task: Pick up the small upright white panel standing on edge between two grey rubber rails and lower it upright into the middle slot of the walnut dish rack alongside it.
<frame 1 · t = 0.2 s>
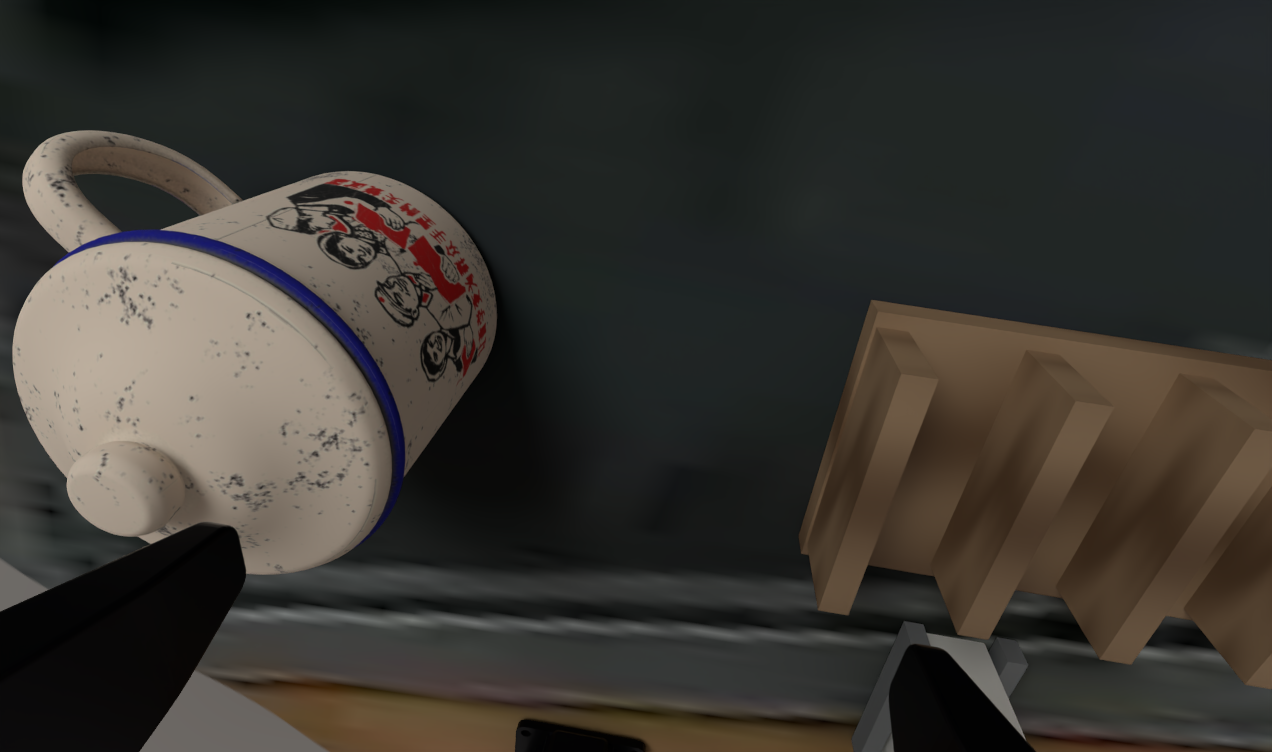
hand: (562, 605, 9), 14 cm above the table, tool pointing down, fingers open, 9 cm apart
rack: (1044, 464, 23), on the table
rails: (928, 693, 29), on the table
upright white panel: (927, 691, 29), on the table
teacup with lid: (352, 261, 23), on the table
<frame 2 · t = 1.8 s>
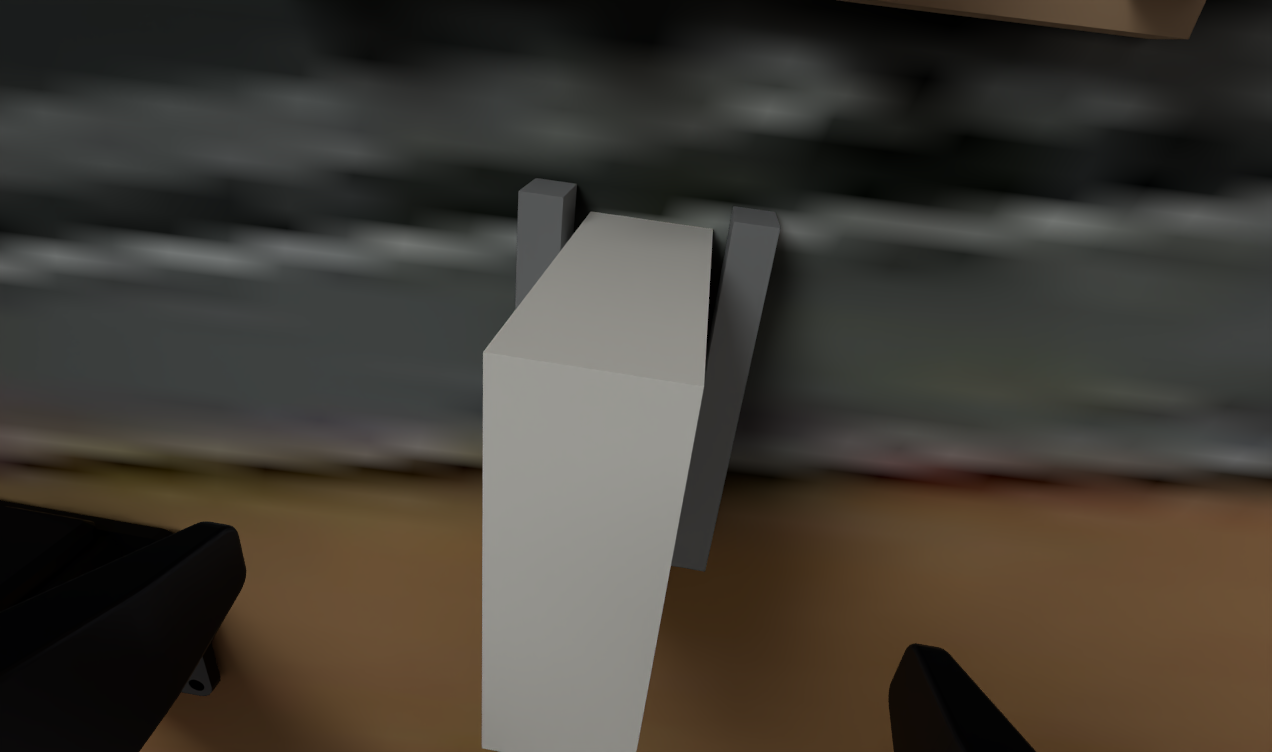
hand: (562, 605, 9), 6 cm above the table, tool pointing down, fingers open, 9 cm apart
rails: (631, 379, 14), on the table
upright white panel: (632, 377, 14), on the table
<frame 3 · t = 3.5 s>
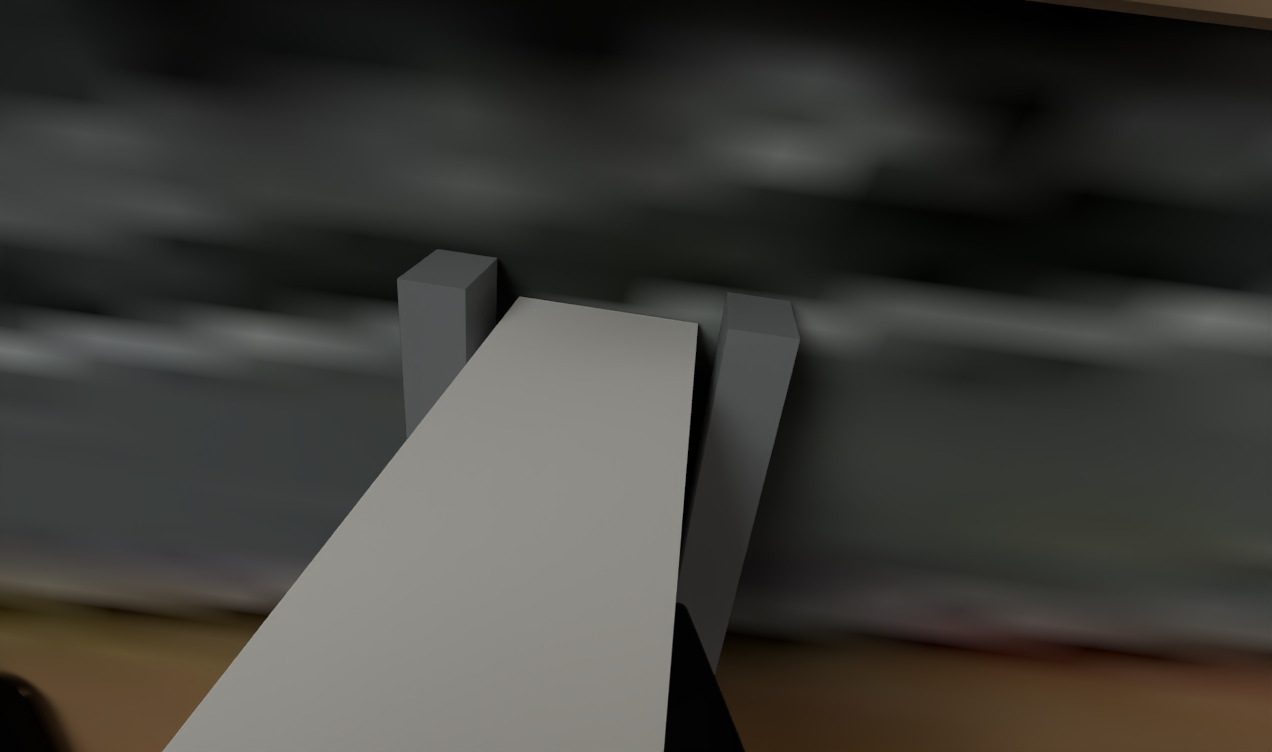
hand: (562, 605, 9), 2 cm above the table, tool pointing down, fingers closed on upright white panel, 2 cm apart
rails: (587, 516, 10), on the table
upright white panel: (587, 515, 10), on the table, touching gripper
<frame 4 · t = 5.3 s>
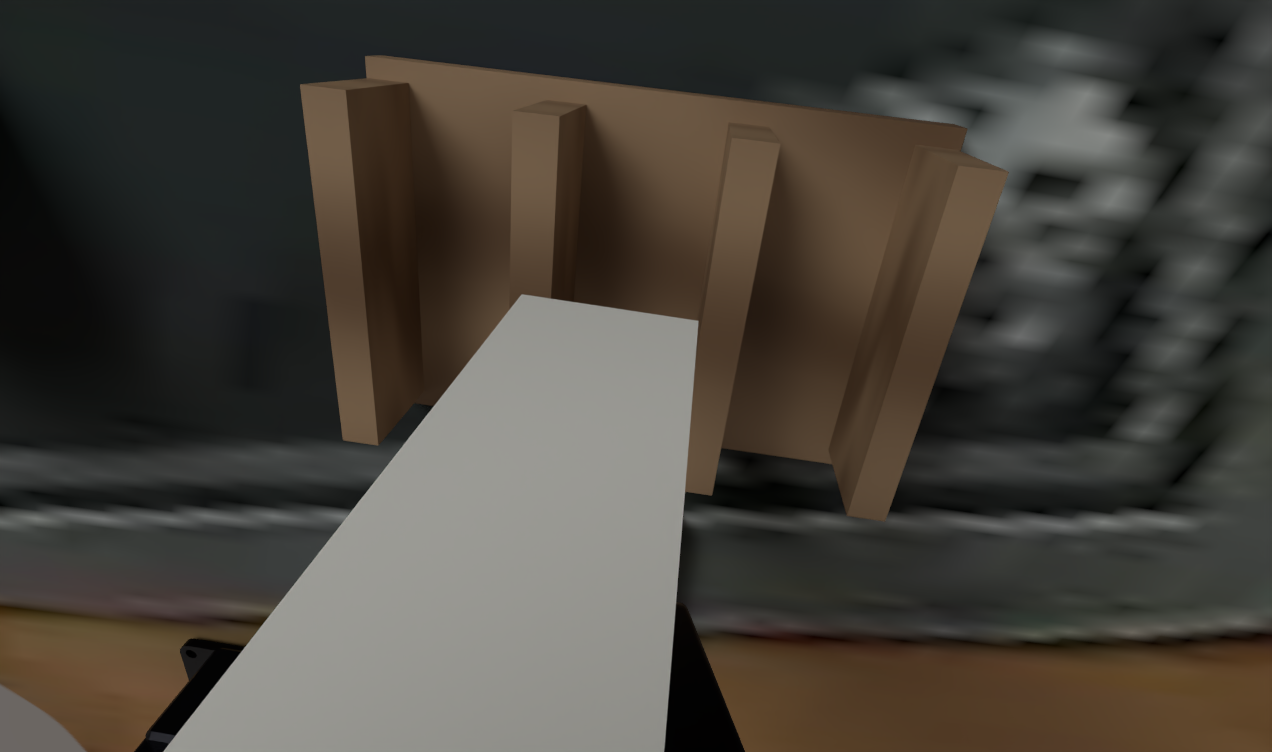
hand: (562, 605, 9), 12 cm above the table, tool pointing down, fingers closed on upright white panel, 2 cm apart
rack: (641, 272, 19), on the table
upright white panel: (588, 511, 10), point 10 cm above the table, touching gripper
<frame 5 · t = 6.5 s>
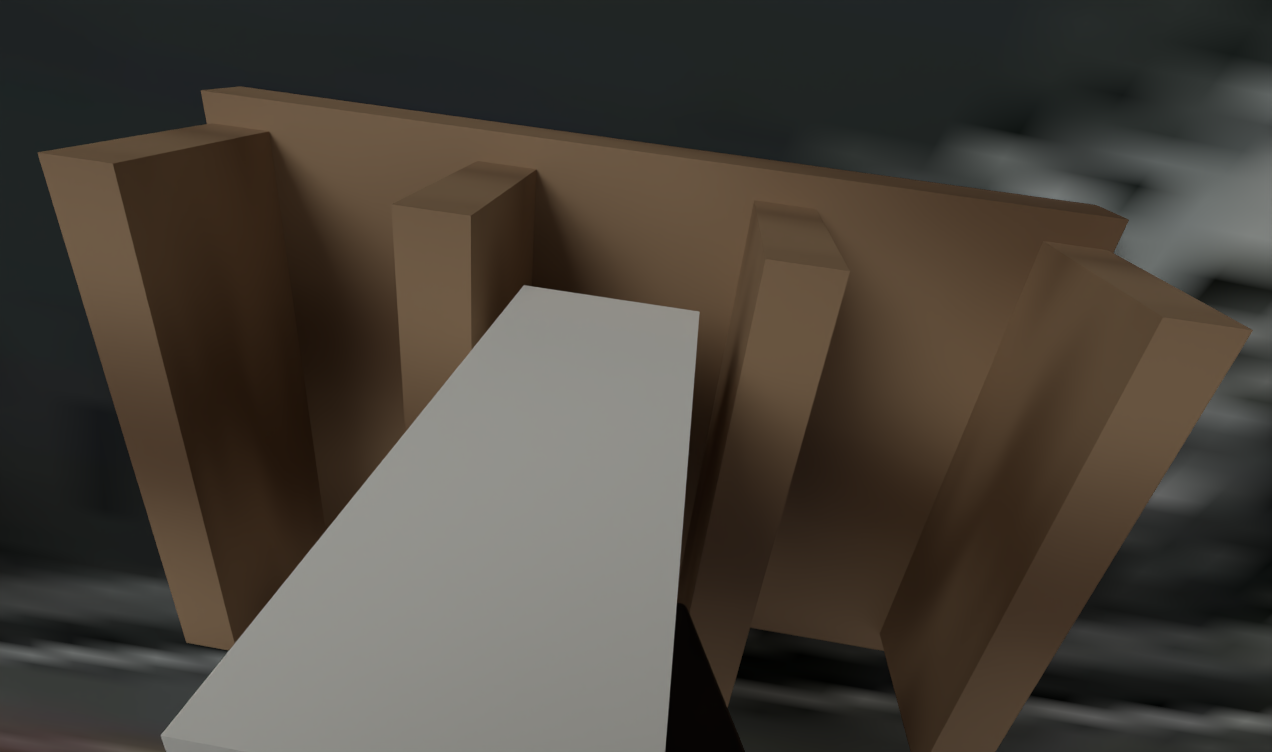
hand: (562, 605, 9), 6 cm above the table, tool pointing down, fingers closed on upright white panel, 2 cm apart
rack: (623, 393, 14), on the table
upright white panel: (590, 503, 10), point 4 cm above the table, touching gripper
when the fingers open (5 cm above the table, at t = 7.3 s): upright white panel drops 2 cm, resting on rack.
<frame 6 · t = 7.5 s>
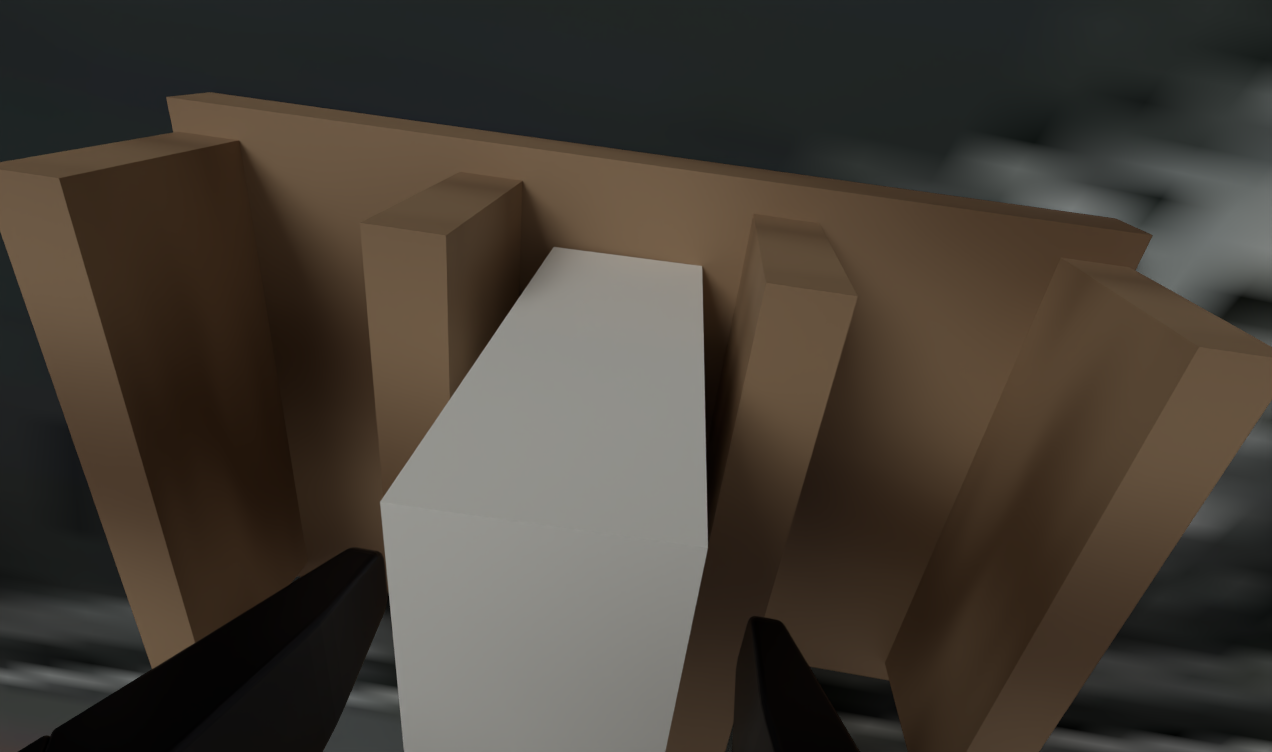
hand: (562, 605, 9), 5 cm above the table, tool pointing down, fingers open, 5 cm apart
rack: (616, 412, 13), on the table
upright white panel: (608, 438, 12), point 1 cm above the table, touching rack
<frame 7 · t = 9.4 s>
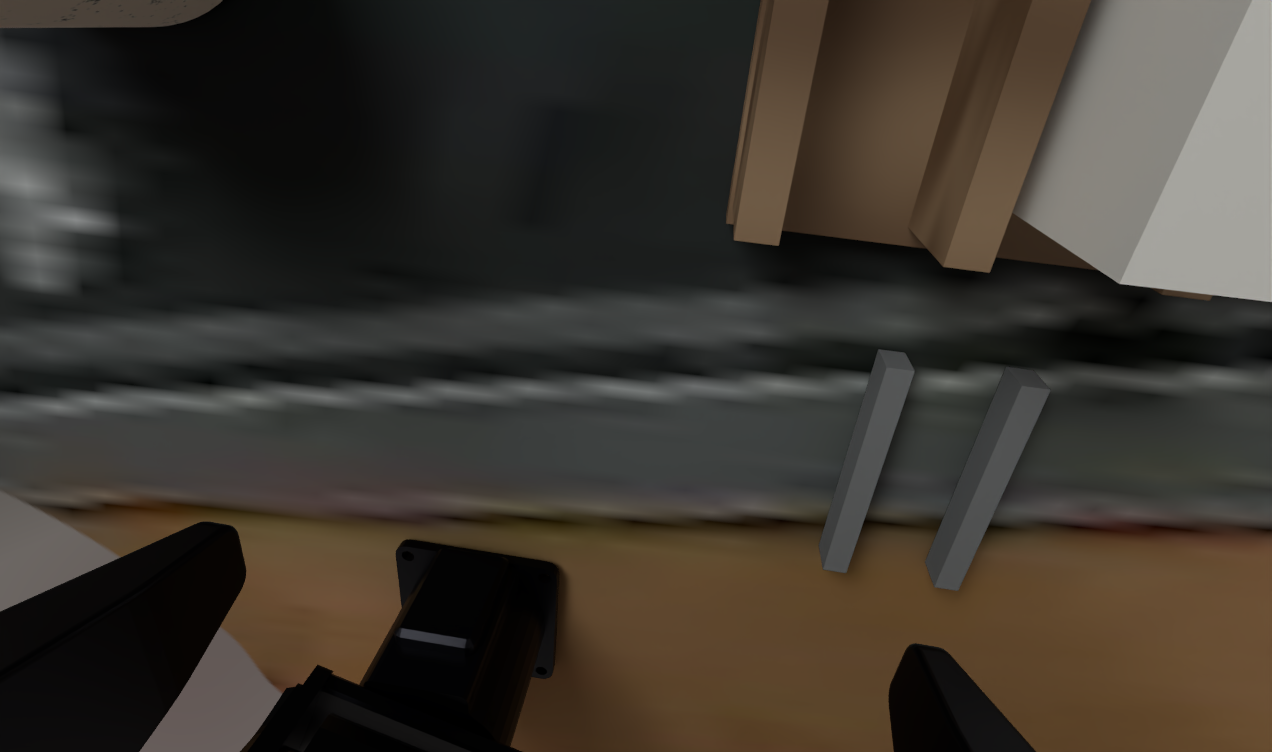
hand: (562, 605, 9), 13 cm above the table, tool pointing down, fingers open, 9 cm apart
rack: (1071, 46, 16), on the table
rails: (915, 466, 22), on the table
upright white panel: (1092, 44, 15), point 1 cm above the table, touching rack
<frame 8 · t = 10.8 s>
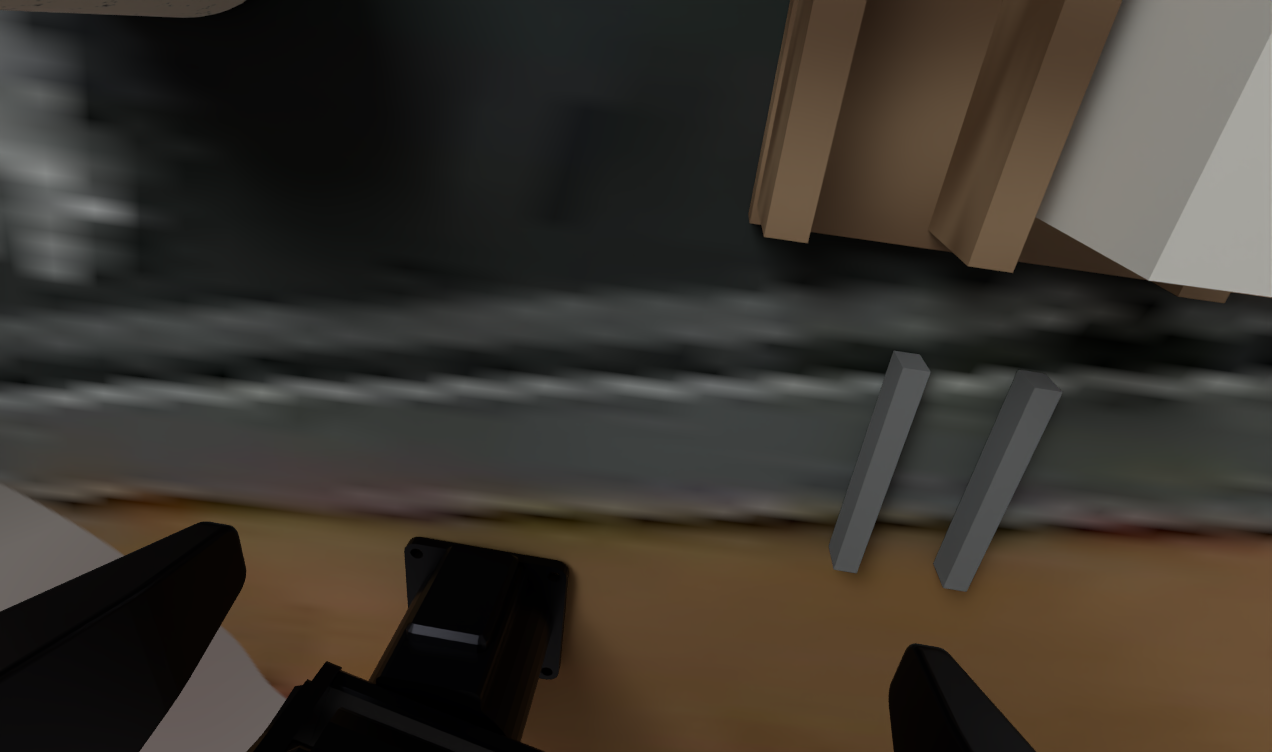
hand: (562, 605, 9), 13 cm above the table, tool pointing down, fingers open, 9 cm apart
rack: (1089, 57, 16), on the table
rails: (927, 467, 22), on the table
upright white panel: (1111, 55, 15), point 1 cm above the table, touching rack
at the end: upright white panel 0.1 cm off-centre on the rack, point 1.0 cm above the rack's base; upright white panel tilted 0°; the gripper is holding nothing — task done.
